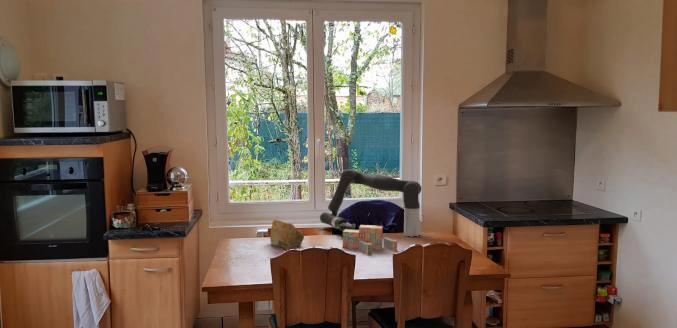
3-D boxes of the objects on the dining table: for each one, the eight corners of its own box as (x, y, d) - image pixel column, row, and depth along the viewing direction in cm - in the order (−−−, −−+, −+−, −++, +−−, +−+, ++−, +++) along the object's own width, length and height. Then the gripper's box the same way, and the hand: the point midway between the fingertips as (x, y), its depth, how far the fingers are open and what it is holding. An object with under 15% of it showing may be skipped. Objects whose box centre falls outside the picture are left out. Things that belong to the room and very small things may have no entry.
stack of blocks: (342, 248, 250) (342, 226, 249) (344, 245, 256) (344, 223, 255) (381, 250, 245) (381, 228, 244) (382, 247, 251) (382, 225, 250)
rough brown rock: (310, 251, 246) (312, 223, 246) (281, 252, 238) (283, 224, 238) (294, 243, 266) (296, 217, 266) (267, 243, 259) (269, 217, 259)
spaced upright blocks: (386, 246, 254) (386, 236, 253) (397, 250, 245) (397, 240, 244) (358, 250, 245) (358, 240, 245) (368, 254, 237) (368, 244, 236)
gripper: (330, 218, 280) (343, 224, 265) (348, 216, 286) (362, 222, 271) (330, 230, 281) (343, 236, 266) (348, 228, 287) (362, 234, 272)
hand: (353, 229), depth 268 cm, fingers closed
